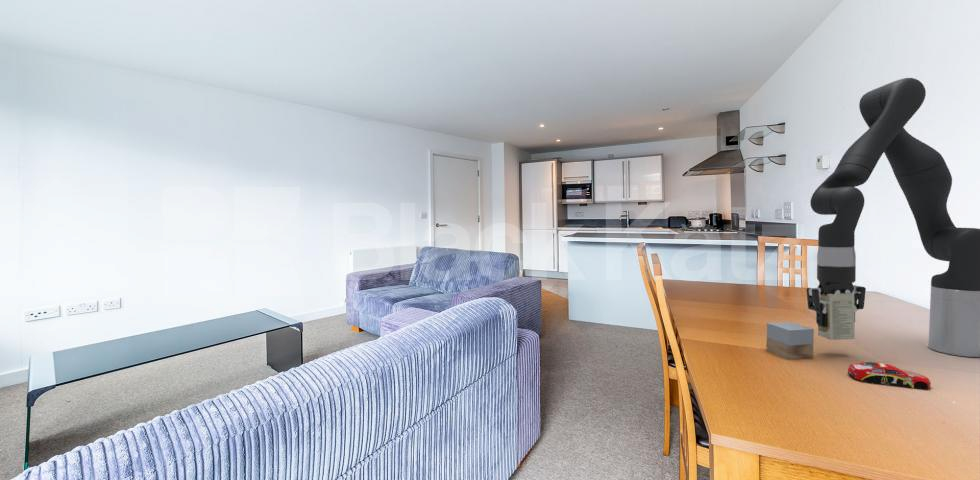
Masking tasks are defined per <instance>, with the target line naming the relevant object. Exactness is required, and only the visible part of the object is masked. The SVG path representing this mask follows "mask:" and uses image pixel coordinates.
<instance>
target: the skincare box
mask: <svg viewBox="0 0 980 480" xmlns="http://www.w3.org/2000/svg"><path fill="white" fill-rule="evenodd" d="M819 297H820V298H821V300H822V301H828V302H829V305H828V311H827V314H828V326H827V327H821V326H819V325H818V324H817V335H818V336H820V337H822V338H824V339H827V340H830V341H833V340H835V341H839V340H855V337H856V335H855V333H856V332H855V331H856V328H855V326H856V325H855V323H856V315H855V316H854V294H853V293H848V294H845V293H840V294H838V295H833V294H827V295H826V296H825V295H824V294H823V293H822V295H820V296H819ZM823 306H824V304H822V308H823Z"/></svg>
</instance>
